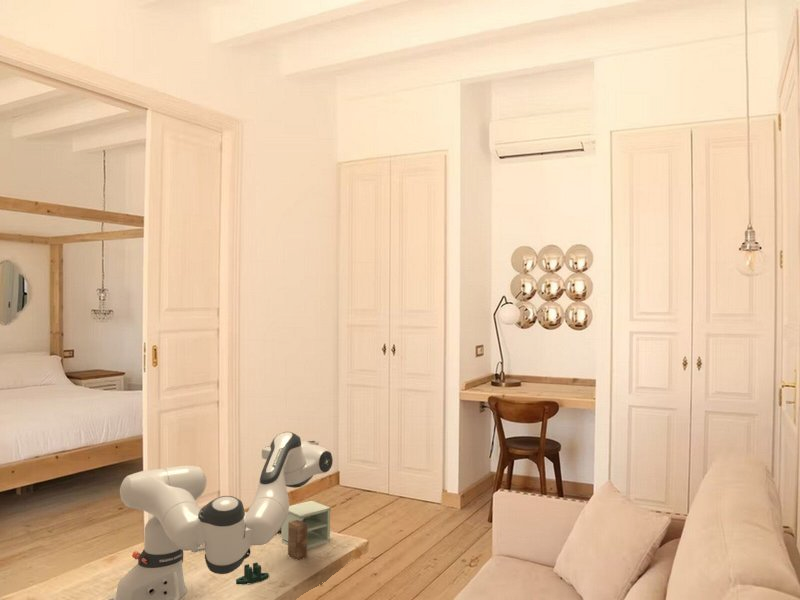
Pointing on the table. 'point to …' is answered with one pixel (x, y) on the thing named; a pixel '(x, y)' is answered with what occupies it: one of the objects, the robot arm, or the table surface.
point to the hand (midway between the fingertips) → (277, 446)
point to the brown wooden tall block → (297, 539)
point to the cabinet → (309, 522)
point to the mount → (252, 574)
